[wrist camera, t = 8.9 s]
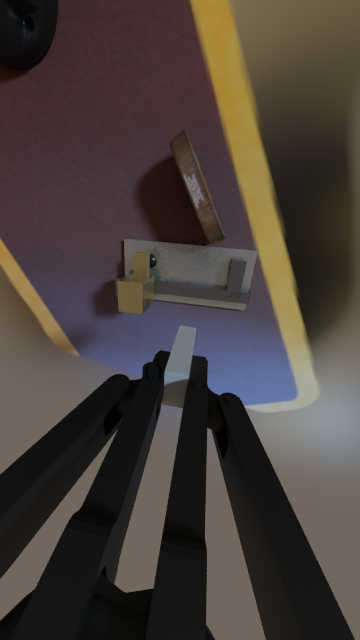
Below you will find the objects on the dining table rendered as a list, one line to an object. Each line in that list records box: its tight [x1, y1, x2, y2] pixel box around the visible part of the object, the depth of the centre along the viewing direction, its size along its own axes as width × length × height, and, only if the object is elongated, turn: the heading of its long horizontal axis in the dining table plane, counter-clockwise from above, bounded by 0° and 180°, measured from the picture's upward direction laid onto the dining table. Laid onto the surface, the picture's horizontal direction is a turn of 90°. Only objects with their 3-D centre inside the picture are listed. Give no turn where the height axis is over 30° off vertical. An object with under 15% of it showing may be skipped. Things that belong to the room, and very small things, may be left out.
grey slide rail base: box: [115, 259, 251, 304], centre depth 36 cm, size 8×24×5 cm, turn 85°
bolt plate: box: [124, 239, 258, 310], centre depth 39 cm, size 11×24×1 cm, turn 85°
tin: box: [170, 129, 226, 244], centre depth 30 cm, size 15×3×8 cm, turn 25°
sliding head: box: [117, 251, 154, 314], centre depth 35 cm, size 9×4×9 cm, turn 175°
